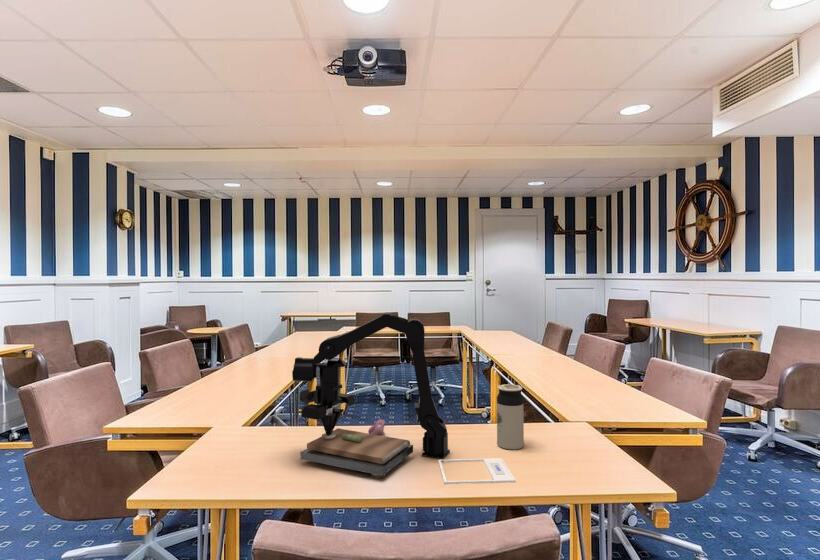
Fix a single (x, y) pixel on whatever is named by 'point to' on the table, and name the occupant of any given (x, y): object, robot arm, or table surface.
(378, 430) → the purple lumpy shape
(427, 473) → the table surface
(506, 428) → the travel mug
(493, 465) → the photo frame
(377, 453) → the plate
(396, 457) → the dark grey flat box
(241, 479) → the table surface
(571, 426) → the table surface
